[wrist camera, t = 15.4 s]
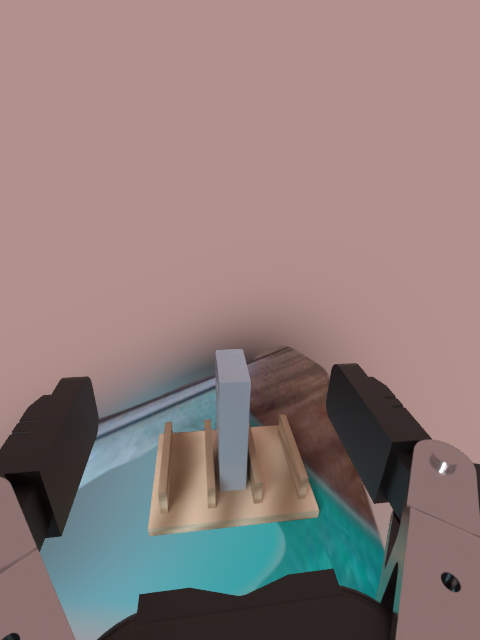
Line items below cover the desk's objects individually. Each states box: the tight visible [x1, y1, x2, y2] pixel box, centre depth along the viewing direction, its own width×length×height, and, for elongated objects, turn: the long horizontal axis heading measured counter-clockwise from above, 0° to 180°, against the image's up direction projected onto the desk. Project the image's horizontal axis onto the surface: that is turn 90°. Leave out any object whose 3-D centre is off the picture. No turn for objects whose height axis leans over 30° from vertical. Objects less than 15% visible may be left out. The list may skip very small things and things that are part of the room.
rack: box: [148, 414, 319, 536], centre depth 40 cm, size 18×13×4 cm
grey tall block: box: [215, 349, 251, 492], centre depth 37 cm, size 3×6×15 cm, turn 7°
